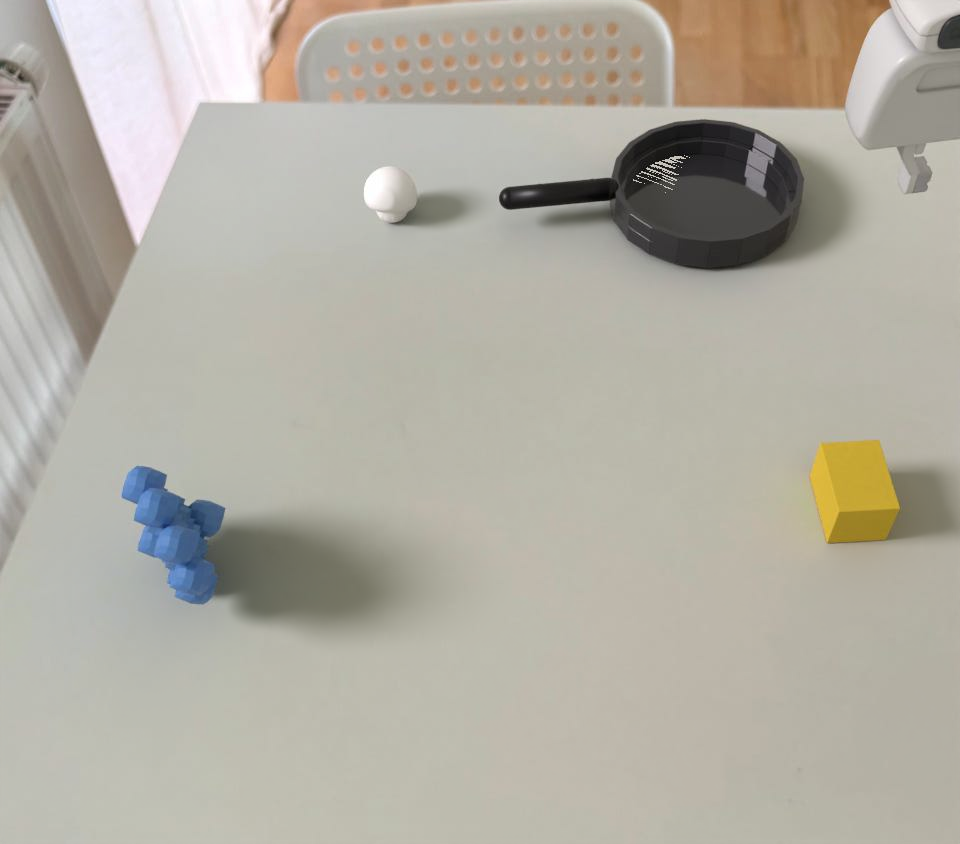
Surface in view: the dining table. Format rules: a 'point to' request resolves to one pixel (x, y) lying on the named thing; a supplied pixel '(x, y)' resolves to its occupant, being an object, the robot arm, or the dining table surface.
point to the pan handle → (558, 193)
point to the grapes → (175, 532)
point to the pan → (707, 193)
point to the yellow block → (853, 491)
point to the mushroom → (390, 193)
